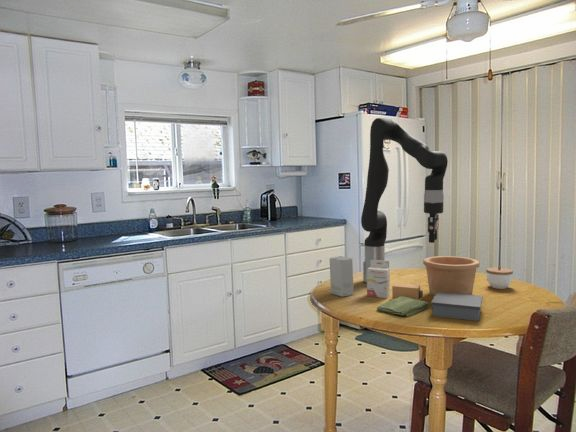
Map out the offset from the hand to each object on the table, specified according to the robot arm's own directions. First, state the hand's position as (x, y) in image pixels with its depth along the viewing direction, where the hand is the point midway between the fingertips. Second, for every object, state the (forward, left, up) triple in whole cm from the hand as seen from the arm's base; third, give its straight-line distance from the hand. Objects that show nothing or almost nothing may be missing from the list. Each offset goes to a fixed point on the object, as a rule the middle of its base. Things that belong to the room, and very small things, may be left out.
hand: (432, 241), depth 185 cm
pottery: (+6, +6, -23) cm, 25 cm away
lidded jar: (+24, +27, -23) cm, 43 cm away
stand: (+11, -19, -23) cm, 32 cm away
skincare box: (-36, -10, -23) cm, 44 cm away
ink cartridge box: (-21, -7, -23) cm, 32 cm away
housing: (-9, -9, -23) cm, 26 cm away
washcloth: (-7, -23, -24) cm, 33 cm away
